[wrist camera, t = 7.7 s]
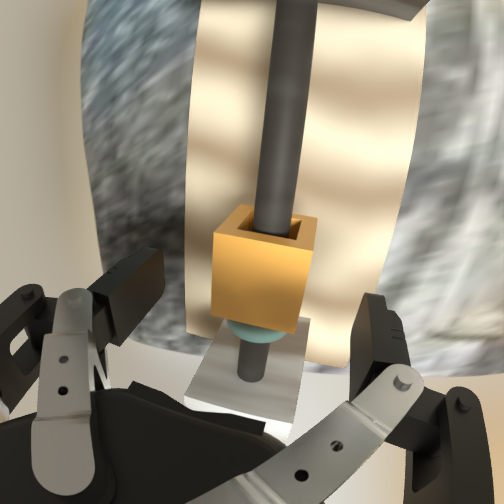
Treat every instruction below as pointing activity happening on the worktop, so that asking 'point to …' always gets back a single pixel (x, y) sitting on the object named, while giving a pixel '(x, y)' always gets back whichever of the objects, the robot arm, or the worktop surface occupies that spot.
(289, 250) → the sleeve
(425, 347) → the worktop surface
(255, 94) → the cord board
